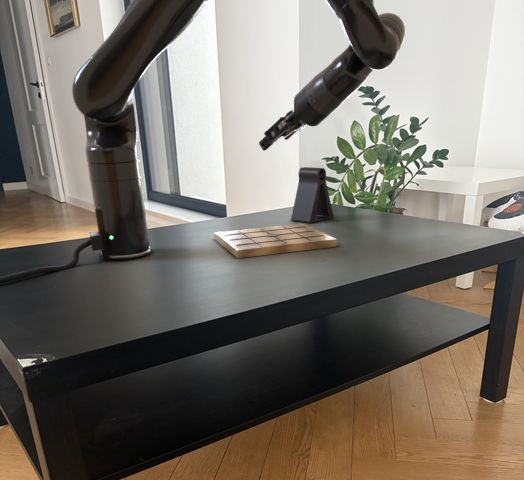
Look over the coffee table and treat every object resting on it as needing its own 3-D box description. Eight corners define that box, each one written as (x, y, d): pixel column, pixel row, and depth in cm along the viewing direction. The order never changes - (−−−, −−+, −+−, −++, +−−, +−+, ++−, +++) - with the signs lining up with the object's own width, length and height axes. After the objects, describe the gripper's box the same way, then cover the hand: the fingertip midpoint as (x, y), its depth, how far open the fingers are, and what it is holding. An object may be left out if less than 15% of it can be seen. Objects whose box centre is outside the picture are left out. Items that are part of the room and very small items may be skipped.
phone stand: (309, 223, 129) (309, 170, 124) (290, 221, 133) (289, 169, 128) (333, 217, 135) (334, 166, 130) (314, 215, 139) (314, 165, 134)
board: (237, 258, 101) (236, 249, 101) (215, 239, 117) (214, 231, 116) (336, 246, 106) (336, 238, 106) (302, 230, 122) (302, 222, 122)
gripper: (329, 73, 115) (281, 118, 128) (291, 88, 106) (244, 135, 119) (348, 105, 116) (299, 147, 129) (312, 122, 107) (263, 165, 120)
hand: (273, 141), depth 124 cm, fingers open, 8 cm apart
